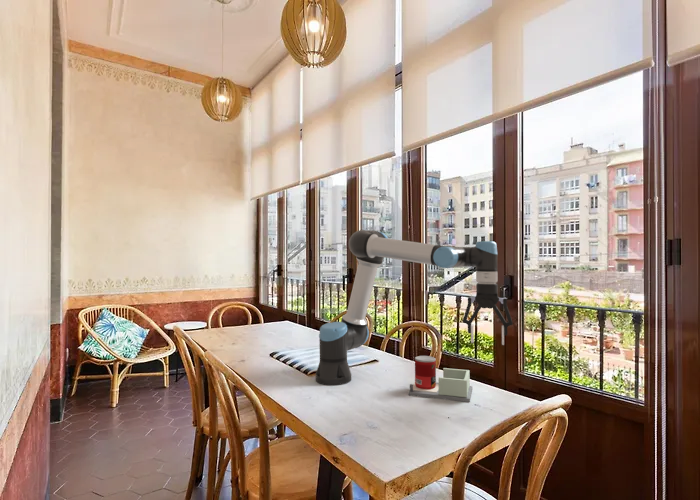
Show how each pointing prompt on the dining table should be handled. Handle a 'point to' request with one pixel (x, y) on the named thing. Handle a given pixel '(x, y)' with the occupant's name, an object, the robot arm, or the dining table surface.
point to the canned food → (425, 372)
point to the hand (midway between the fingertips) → (487, 343)
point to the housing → (454, 382)
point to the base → (437, 393)
